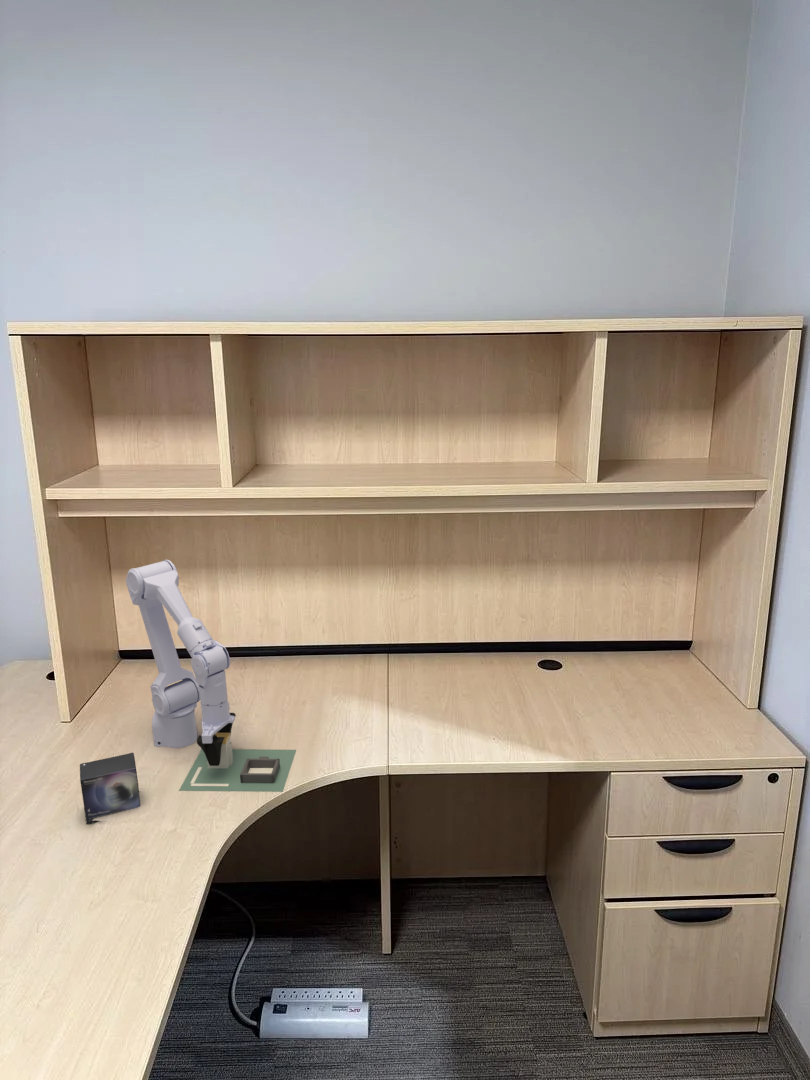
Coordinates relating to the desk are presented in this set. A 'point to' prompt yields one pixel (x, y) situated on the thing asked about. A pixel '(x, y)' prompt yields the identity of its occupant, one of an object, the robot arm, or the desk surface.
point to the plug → (225, 752)
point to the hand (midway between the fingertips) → (219, 755)
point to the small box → (109, 786)
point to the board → (242, 772)
